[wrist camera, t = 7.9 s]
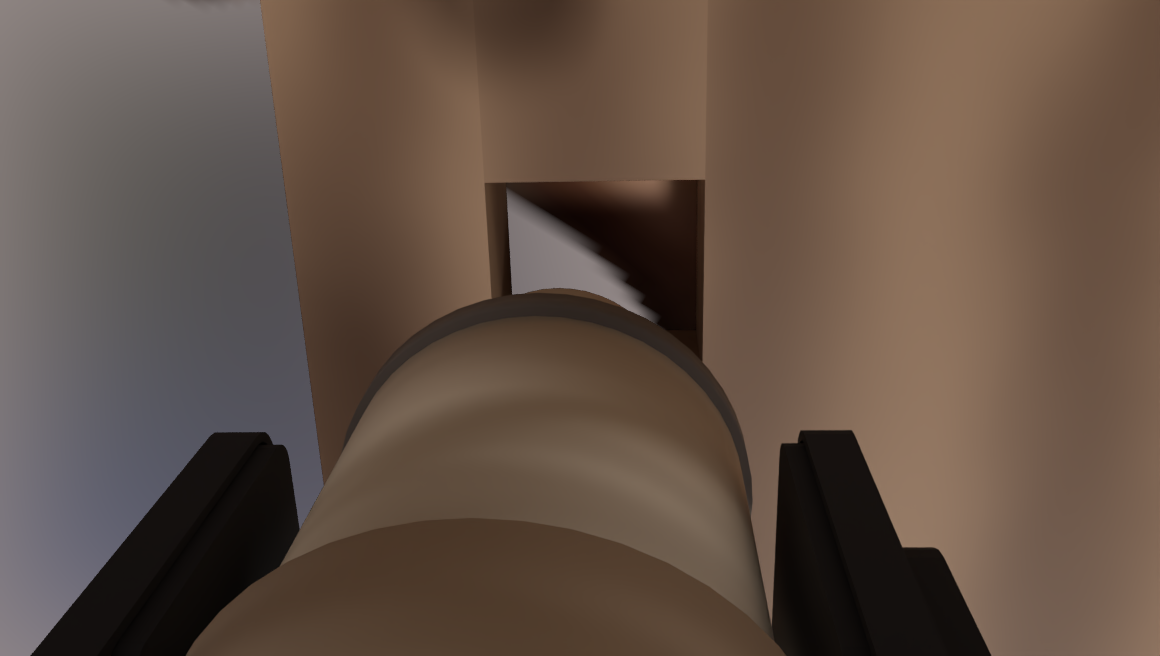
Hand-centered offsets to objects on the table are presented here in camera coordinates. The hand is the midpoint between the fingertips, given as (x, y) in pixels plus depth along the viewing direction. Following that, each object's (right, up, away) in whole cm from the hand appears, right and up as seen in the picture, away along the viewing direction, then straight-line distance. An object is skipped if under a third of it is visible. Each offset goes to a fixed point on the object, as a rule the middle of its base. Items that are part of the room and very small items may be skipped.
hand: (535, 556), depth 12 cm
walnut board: (+7, +2, +13) cm, 15 cm away
